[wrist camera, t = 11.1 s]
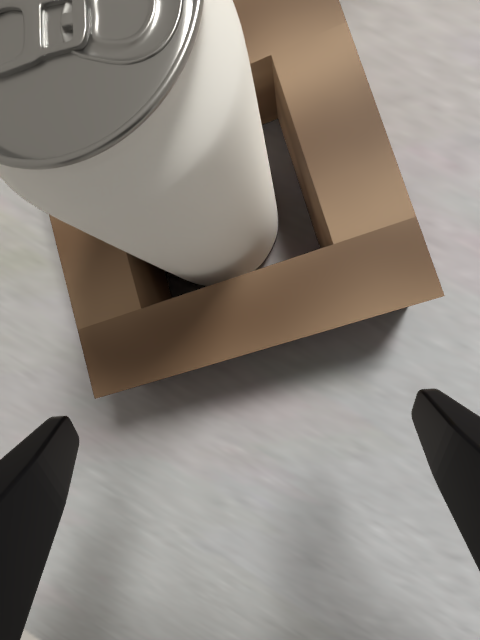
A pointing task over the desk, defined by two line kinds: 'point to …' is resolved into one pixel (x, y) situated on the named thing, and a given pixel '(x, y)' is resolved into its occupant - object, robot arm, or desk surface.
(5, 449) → the desk surface
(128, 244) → the can
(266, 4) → the bored block
